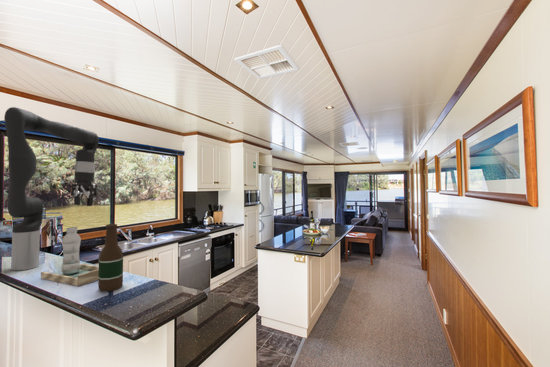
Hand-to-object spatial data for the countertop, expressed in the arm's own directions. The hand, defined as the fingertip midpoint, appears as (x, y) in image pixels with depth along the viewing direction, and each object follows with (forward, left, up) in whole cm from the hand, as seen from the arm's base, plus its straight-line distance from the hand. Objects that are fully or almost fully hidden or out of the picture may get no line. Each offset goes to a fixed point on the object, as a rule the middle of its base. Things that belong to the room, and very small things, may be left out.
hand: (83, 205), depth 118 cm
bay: (+11, -8, -30) cm, 33 cm away
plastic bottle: (+6, -8, -29) cm, 31 cm away
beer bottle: (+36, -12, -30) cm, 48 cm away
